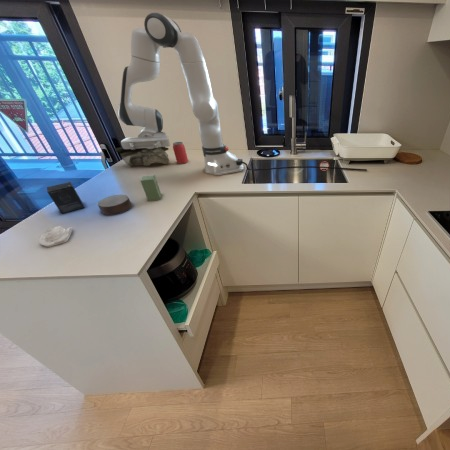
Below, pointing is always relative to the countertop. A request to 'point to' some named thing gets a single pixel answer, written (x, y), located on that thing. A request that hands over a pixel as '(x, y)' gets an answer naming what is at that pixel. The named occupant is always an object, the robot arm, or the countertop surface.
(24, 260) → the countertop surface
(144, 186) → the block
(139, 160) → the hollow geode rock
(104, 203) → the cylinder
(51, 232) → the white flat lumpy piece
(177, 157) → the beer can
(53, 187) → the box
